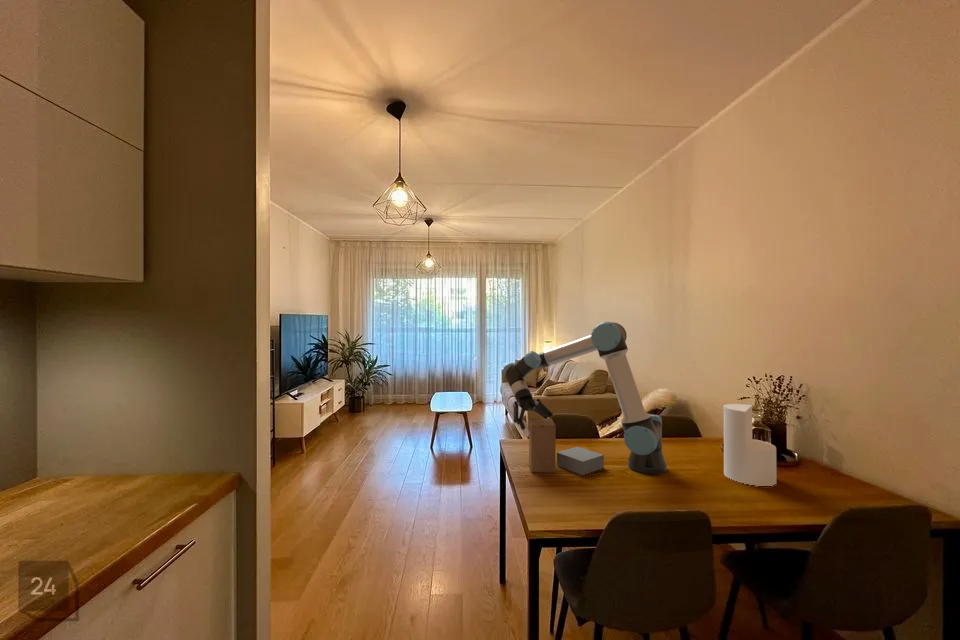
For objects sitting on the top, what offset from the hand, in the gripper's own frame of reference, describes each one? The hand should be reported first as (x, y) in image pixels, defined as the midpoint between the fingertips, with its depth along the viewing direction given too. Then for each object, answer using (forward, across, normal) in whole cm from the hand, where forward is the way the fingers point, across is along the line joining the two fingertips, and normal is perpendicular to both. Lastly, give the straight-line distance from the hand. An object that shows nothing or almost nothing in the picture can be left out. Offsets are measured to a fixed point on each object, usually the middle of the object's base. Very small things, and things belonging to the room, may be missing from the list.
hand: (541, 433), depth 161 cm
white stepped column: (+44, -69, +22) cm, 84 cm away
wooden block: (+11, 0, -10) cm, 15 cm away
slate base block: (+15, -16, -6) cm, 23 cm away
